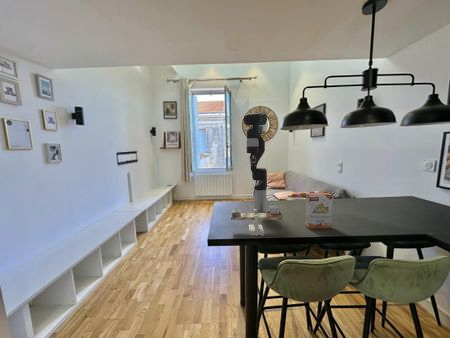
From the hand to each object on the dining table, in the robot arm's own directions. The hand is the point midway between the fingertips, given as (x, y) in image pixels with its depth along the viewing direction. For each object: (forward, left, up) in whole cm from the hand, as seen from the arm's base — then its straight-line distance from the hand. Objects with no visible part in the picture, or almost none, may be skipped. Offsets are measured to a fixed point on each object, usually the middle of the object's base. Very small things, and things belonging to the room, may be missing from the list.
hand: (252, 171), depth 138 cm
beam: (+9, +10, -25) cm, 29 cm away
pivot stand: (+9, +10, -34) cm, 37 cm away
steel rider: (+2, +18, -24) cm, 30 cm away
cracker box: (-22, +33, -34) cm, 52 cm away
